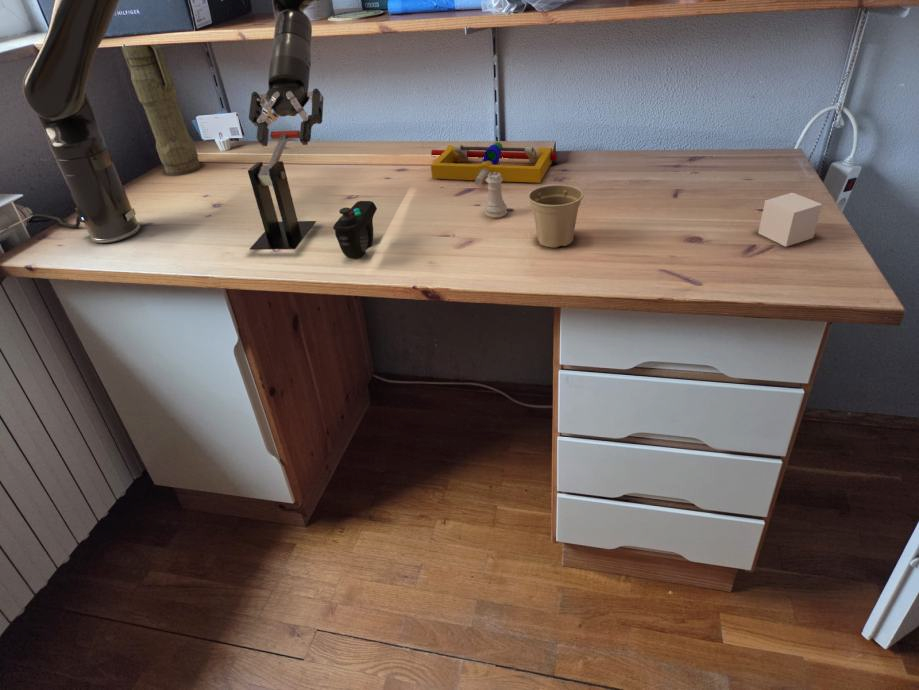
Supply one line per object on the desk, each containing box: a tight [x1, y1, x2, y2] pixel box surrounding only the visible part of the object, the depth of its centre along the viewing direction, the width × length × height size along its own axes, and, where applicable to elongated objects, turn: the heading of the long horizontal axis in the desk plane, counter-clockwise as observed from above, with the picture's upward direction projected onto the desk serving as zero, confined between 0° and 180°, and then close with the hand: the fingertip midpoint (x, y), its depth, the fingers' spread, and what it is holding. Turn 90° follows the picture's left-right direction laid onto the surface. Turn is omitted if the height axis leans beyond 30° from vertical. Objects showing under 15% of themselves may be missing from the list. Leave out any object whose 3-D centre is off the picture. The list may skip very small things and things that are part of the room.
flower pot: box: [527, 184, 585, 249], centre depth 109 cm, size 9×9×9 cm
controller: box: [332, 200, 378, 259], centre depth 111 cm, size 4×12×10 cm, turn 167°
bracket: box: [247, 160, 317, 251], centre depth 117 cm, size 12×9×15 cm
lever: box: [258, 129, 300, 187], centre depth 117 cm, size 14×6×2 cm, turn 172°
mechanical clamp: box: [430, 141, 558, 186], centre depth 139 cm, size 18×6×30 cm
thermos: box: [120, 43, 201, 176], centre depth 152 cm, size 9×12×35 cm
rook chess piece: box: [484, 172, 508, 219], centre depth 121 cm, size 4×4×8 cm
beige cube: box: [757, 192, 823, 248], centre depth 104 cm, size 6×6×6 cm
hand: (283, 143), depth 119 cm, fingers open, 8 cm apart
